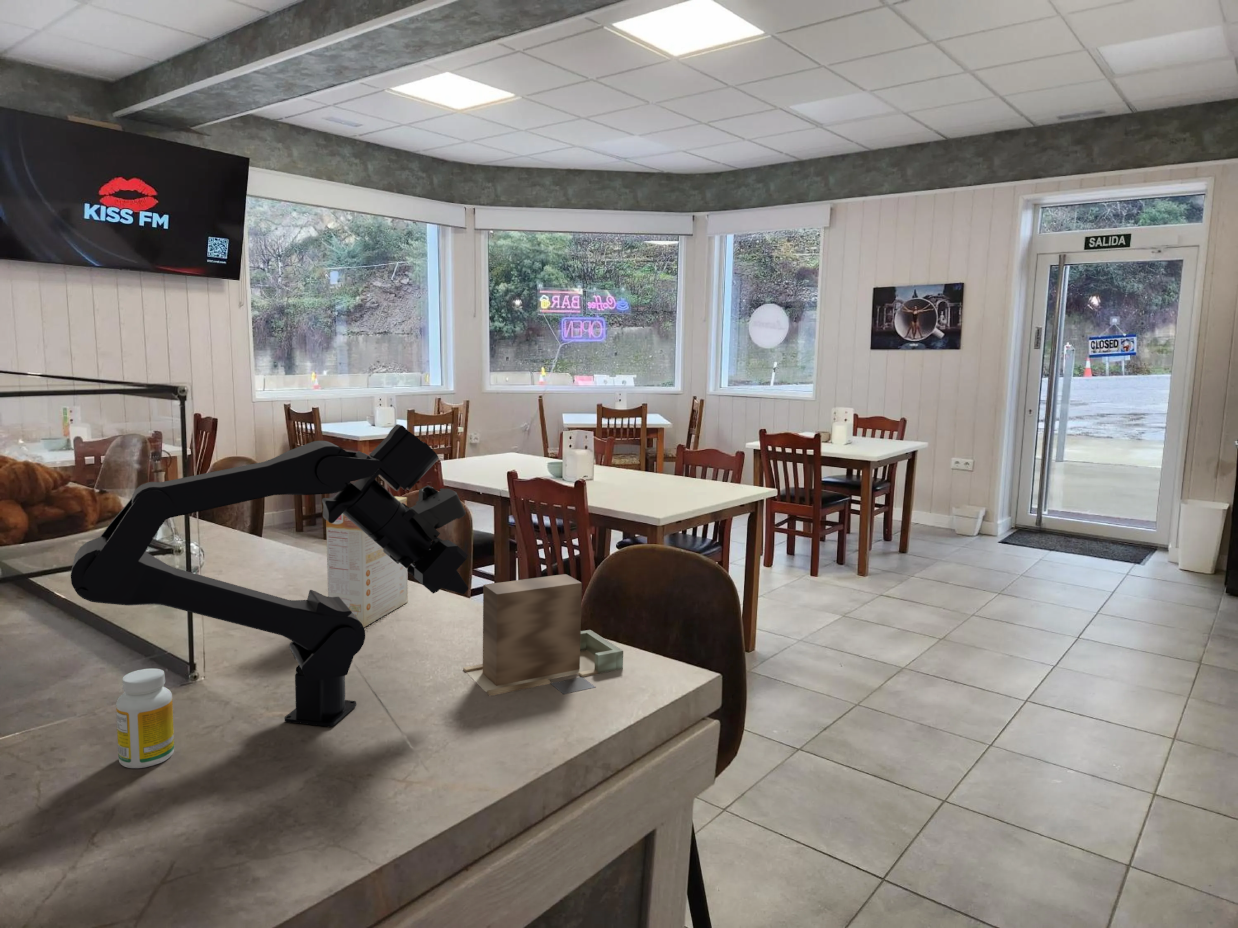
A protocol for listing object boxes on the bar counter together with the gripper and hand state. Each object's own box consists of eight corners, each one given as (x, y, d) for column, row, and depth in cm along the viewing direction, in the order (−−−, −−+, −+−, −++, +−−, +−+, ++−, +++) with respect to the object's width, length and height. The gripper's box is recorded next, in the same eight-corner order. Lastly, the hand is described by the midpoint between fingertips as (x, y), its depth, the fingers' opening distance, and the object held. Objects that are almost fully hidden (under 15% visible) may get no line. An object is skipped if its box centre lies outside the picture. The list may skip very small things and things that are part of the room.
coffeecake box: (374, 598, 149) (373, 493, 146) (409, 602, 147) (409, 496, 144) (325, 623, 134) (323, 508, 132) (363, 628, 133) (362, 512, 130)
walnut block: (496, 685, 111) (497, 594, 109) (482, 672, 115) (483, 584, 114) (579, 669, 118) (581, 582, 116) (563, 657, 122) (565, 574, 120)
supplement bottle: (109, 770, 87) (104, 685, 86) (133, 746, 92) (129, 665, 91) (161, 769, 88) (157, 684, 86) (183, 745, 93) (179, 665, 92)
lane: (501, 709, 105) (501, 687, 104) (453, 661, 120) (453, 642, 120) (637, 680, 115) (638, 659, 115) (577, 639, 131) (578, 621, 130)
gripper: (451, 481, 97) (533, 561, 104) (405, 461, 113) (480, 531, 120) (385, 552, 94) (475, 629, 101) (348, 521, 110) (428, 589, 117)
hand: (465, 590), depth 110 cm, fingers closed
